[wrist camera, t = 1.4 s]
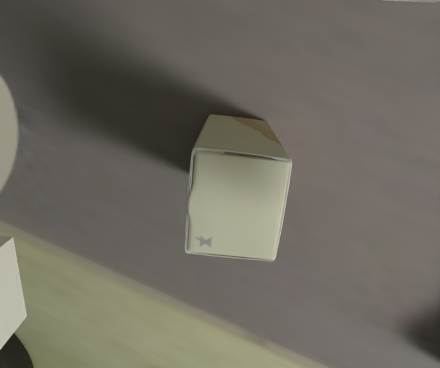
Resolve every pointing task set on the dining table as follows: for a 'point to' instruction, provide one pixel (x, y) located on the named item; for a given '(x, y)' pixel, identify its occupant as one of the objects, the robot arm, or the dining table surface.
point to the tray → (416, 0)
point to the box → (236, 190)
